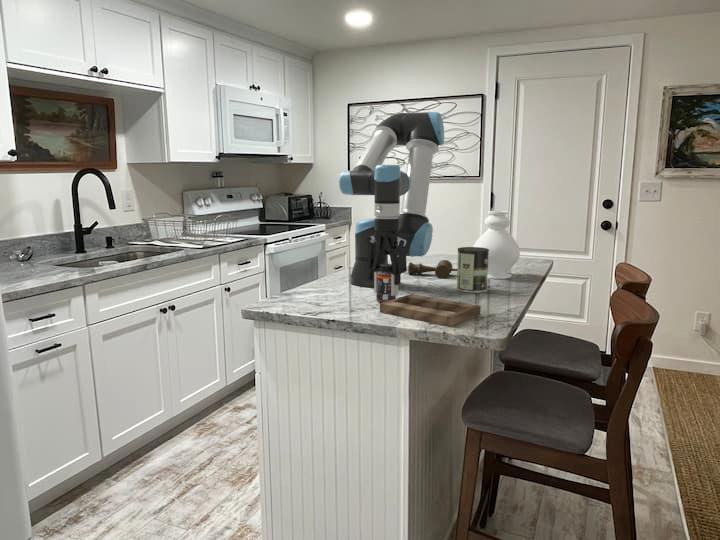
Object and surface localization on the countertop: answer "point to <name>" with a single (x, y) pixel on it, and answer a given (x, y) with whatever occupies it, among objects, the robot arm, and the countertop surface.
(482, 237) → the decorative vase
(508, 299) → the countertop surface
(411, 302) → the brown wooden picture frame
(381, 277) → the supplement bottle
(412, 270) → the kendama
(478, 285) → the coffee can
